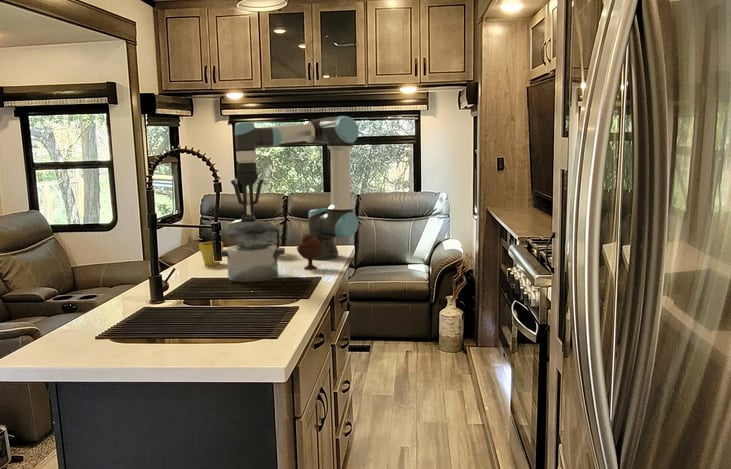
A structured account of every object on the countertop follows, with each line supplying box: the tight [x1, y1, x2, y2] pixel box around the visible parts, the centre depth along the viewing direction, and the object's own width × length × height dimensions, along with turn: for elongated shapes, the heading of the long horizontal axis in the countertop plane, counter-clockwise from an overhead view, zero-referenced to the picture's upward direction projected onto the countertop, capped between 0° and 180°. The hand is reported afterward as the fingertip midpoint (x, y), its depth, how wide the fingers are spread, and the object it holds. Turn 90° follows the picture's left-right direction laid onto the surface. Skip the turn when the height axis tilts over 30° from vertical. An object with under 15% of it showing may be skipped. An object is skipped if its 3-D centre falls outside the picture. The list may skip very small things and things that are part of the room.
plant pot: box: [198, 241, 224, 267], centre depth 278 cm, size 10×10×10 cm
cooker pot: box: [221, 243, 286, 283], centre depth 250 cm, size 26×20×12 cm
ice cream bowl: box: [296, 233, 323, 271], centre depth 262 cm, size 11×11×15 cm
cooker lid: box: [224, 214, 279, 245], centre depth 250 cm, size 21×24×4 cm
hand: (249, 221), depth 245 cm, fingers closed
